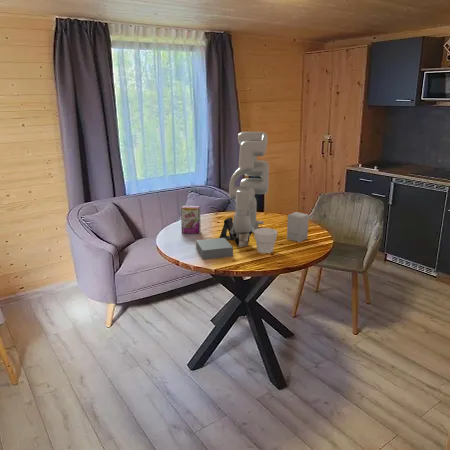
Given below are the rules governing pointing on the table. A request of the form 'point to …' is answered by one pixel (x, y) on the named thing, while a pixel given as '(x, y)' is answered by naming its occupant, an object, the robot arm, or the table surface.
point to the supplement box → (297, 226)
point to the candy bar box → (190, 219)
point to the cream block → (243, 239)
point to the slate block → (214, 248)
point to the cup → (265, 239)
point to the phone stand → (227, 226)
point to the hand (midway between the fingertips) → (242, 243)
